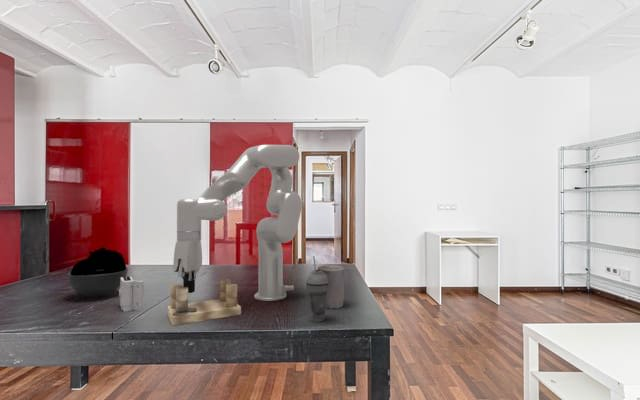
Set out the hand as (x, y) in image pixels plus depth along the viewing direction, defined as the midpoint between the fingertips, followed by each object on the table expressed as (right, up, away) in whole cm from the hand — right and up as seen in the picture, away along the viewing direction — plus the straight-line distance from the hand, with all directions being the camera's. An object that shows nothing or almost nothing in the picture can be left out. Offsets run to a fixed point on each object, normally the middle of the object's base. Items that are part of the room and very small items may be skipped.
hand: (189, 292), depth 109 cm
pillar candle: (+47, -8, +12) cm, 49 cm away
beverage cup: (+42, -8, -4) cm, 43 cm away
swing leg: (+1, -5, -4) cm, 6 cm away
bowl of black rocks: (-46, -8, +23) cm, 52 cm away
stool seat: (+5, -8, +1) cm, 9 cm away
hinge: (-24, -8, +8) cm, 27 cm away
